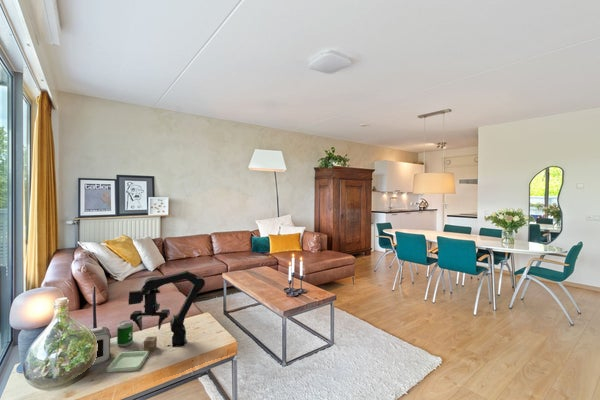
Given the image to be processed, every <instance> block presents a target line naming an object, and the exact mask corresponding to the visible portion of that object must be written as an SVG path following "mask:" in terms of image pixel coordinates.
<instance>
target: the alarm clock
mask: <svg viewBox="0 0 600 400" xmlns="http://www.w3.org/2000/svg"><path fill="white" fill-rule="evenodd" d="M89 329H90V330H91V331H92V332H93V333H94V334H95V336H96V338H97V343H98V351H97V357H96V360H95V362H94V364H93V365H92V366H95V365H98V364H102V363H105V362H106V361H108V360H109V359H110V356H111V332H110V331H111V330H110V328H109V327H107V326H100V327H95V328H89Z"/></svg>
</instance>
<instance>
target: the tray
mask: <svg viewBox="0 0 600 400" xmlns="http://www.w3.org/2000/svg"><path fill="white" fill-rule="evenodd" d="M149 355H150V352H149V351H143V350H142V351H141V350H140V351H138V350H137V351H124V352H123V351H121V352H119V353H118V354H117V355H116V356H115V358H114V359H113V360H112V362H111V363H110V364H109V365H108V366H107V367H106V368H105V369H106V370H105V371H106V372H105V373H116V372H132V371H139V370H140V368H141V366H142V365H143V364H144V363H145V360H146V359H147V358H148V356H149Z"/></svg>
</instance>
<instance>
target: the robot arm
mask: <svg viewBox="0 0 600 400" xmlns="http://www.w3.org/2000/svg"><path fill="white" fill-rule="evenodd" d="M183 280H187V281H188V282H190V283H191V286H190V290H189V293H188V294H187V296H186V298H185V300H184V301H183V304H182V306H181V307H180V309H179V311H178V313H177V314H173V315H172V318H171V319H170V321H169V327H170V332H172V333H173V335H172V336H171V344H172V345H171V347H184V346H185V345H186V343H187V341H188V340H187V331H186V327H185V326H186V325H185V324H184V323H185V318H186V316H187V313H188V312H189V311H190V308H191V307H192V304H193V302H194V300H195V298H196V297H197V295H198V294H199V293H200V292H201V291H202V289H203V288H204V287H205V285H206V281H205V279H204V278H203V277H202V276H201V275H196V274H195V273H192V272H191V271H189V270H184V271H181V272H178V273H173V274H169V275H165V276H153V277H148V278H146V280H145V281H144V284H143V286H141V288H140V290H131V291H129V292H128V301H127V302H128V306H131V305H132V306H133V305H138V304H141V303H142V302H144V304H143V308H144V312H143V311H142V310H134V311H133V312H131V314H130V316H129V321H132V322H134V323H135V324H136V325H137V328H138V329H139V331H143V317H159V318H158V327H157V328H158V330H160V329H161V327H162V325H163V322H164V320H166V319H167V318H168V317H169V316H170V315H171V310H170V309H167V308H166V309H162V310H161V311H159V310H160V307H161V303H158V301H157V294H160V293H161V290H160V289H159V288H160V287H162V286H164V285H169V284H172V283H176V282H180V281H183Z"/></svg>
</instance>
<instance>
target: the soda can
mask: <svg viewBox="0 0 600 400" xmlns="http://www.w3.org/2000/svg"><path fill="white" fill-rule="evenodd" d="M133 322H134V321H132V320H130V319H129V320H123V321H121V322H119V323H118V325H117V327H116V329H117V331H116V333H117V334H116V336H117V337H116V344H117V345H118V346H119V347H126V346H130V345H131V343H132V342H133V339H134V323H133Z"/></svg>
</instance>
